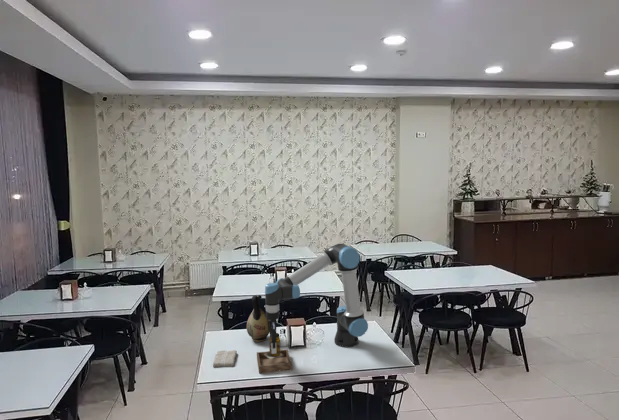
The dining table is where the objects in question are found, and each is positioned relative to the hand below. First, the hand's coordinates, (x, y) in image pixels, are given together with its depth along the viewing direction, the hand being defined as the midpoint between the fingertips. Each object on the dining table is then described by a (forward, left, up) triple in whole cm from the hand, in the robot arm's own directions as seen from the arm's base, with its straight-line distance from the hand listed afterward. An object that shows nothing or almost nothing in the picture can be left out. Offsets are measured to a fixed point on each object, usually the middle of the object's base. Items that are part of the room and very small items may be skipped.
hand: (273, 350), depth 247 cm
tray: (0, 0, -8) cm, 8 cm away
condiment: (0, 0, -3) cm, 3 cm away
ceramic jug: (+6, -37, -8) cm, 38 cm away
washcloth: (+27, -12, -9) cm, 31 cm away
